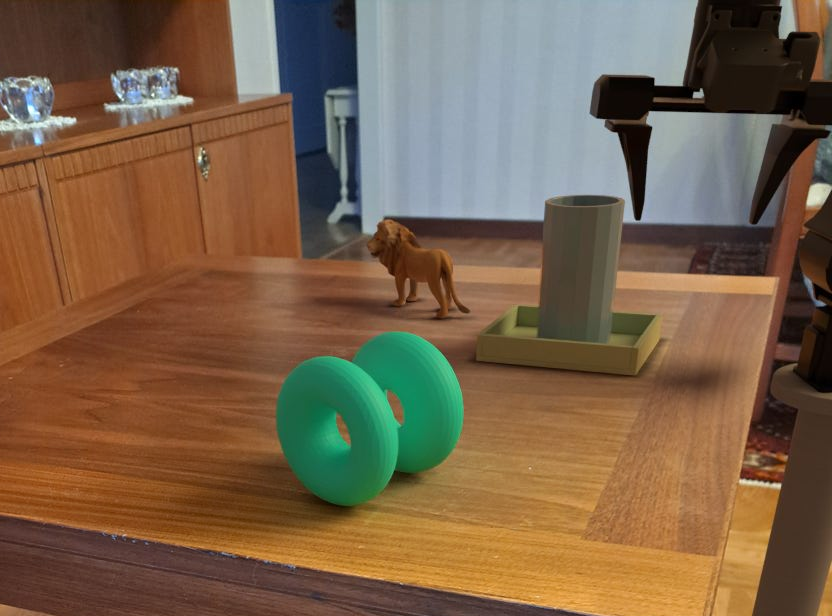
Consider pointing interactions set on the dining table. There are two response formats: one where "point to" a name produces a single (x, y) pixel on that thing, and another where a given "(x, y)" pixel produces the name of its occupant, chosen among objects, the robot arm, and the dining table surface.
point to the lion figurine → (414, 265)
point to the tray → (569, 343)
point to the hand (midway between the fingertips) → (694, 222)
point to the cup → (579, 267)
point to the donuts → (369, 417)
